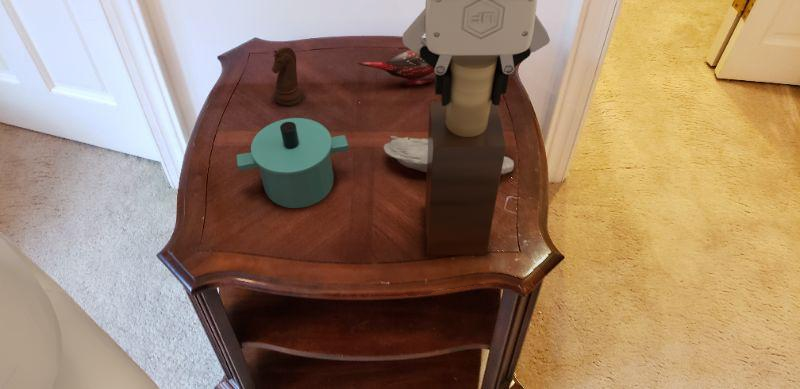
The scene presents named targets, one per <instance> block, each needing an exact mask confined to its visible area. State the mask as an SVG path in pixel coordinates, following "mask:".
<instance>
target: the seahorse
mask: <svg viewBox="0 0 800 389" xmlns="http://www.w3.org/2000/svg"><path fill="white" fill-rule="evenodd" d="M389 137H390V139H391V141H389V142H387V143H385V144H384V145H383V150H384V153H385V154H386V155H387V156H388V157H389V158H393V159H395V160H396V161H397V162H399V163H400V164H401V165H403V166H404V167H406V168H410V169H413V170H417V171H420V172H424V173H426V174H427V155H428V138H424V137H423V138H416V137H415V138H414V137H409V136H405V137H398V136H396V135H390V136H389ZM514 166H515V163H514V160H513V159H512V158H509V157H508V156H506V155H505V156H504V161H503V166H502V172H501V175H503V176H505V175H506V174H508V173H512V172H513V170H514Z"/></svg>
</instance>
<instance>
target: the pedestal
mask: <svg viewBox="0 0 800 389" xmlns="http://www.w3.org/2000/svg"><path fill="white" fill-rule="evenodd" d="M446 107H447V106H442V101H429V110H428V111H429V112H428V132H427V134H428V136H427V140H428V155H427V173H426V182H425V183H426V184H425V202H424V204H425V205H424V216H425V217H424V218H425V234H426V235H425V236H426V252H427V253H426V255H427V256H486V255H487V252H488V246H489V241H490V237H491V236H490V235H491V230H492V225H493V218H494V214H495V209H496V204H497V199H498V198H497V197H498V194H499V189H500V188H499V187H500V182H501V176H502V174H501V172H502V166H503V161H504V156H505V157H506V149H507V144H506V139H505V135H504V134H505V133H504V130H503V125H502V124H503V123H502V120H501V114H500V110H499V105H494V104H492V100H491V105H490V112H489V119H488V126H487V128H486V130H485V131H484V132H483V133H482V134H480V135H477V136H473V137H463V136H459V135H456V134H454V133H452V132H451V131H450V130H449V129H448V128H447V126H446V123H445V121H446Z"/></svg>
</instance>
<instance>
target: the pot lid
mask: <svg viewBox="0 0 800 389" xmlns="http://www.w3.org/2000/svg"><path fill="white" fill-rule="evenodd" d="M331 137H332V136H331V133H330V132H329V130H328V129H327V127H325V126H324V125H323V124H321V123H320V122H318V121H315V120H312V119H309V118H302V117H290V118H284V119H281V120H277V121H274V122H272V123H270V124H268V125H266V126H265V127H263V128H262V129H260V130H259V132H257V134H256V135H255V136H254V137H253V139H252V142H251V145H250V152H251V154H252V157H253V159H254V161H255V162H256V164H257V165H258V166H259V167H261V168H262V169H264V170H266V171H268V172H271V173H275V174H281V175H291V174H298V173H302V172H305V171H308V170H311V169H313V168H315V167H316V166H318V165H319V164H321V163H322V162H323V161H324V160H325V159H326V158H327V156H328V155H329V153H330V151H331V147H332V140H331ZM330 154H331V153H330ZM259 167H258V168H259Z"/></svg>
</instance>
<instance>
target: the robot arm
mask: <svg viewBox="0 0 800 389" xmlns="http://www.w3.org/2000/svg"><path fill="white" fill-rule="evenodd" d="M537 4H538V0H425V8H424V9H423V10H422V11H421V12H420V14H419V15H418V16H417V17H416V18H415V19H414V20H413V21H412V23H411V24H410V25H409V27H408V28H407V29H406V30H405V31H404V32H403V33H402V45H403V46H404V47H406V48H407V49H409V50H412V51H413V52H415V53H417V54H419V55H420V57H421V58H422V59H423V60H424V61H425V62H427V63H428V64H429V65H430V66H431V67H432V68H433V69H434V70H435V72H434V75H435V77H434V95H436V96H437V95H440V99H441V101H440V102H442V106H447V105H449V94H450V81H451V74H450V69H449V64H450V60H451V57H452V56H474V55H497V64H496V71H495V77H494V84H493V91H492V98H491V101H492V104H494V105H498V106H500V105H501V104H500V103H501V96H502V95H506V94H507V90H508V84H509V77H510V74H512V73H513V72H515V68H516V67H517V66H518V65H520V64H521V63H523V62H524V61H525V60H526V59H528V58H529V57H530V56H531V54H532V53H535V52H538V51H539V50H541V49H542V48H543V47H546V46H547V45H548V44H550V41H551V40H550V36H549V33H548V31H547V29H546V28H545V26H544V25H543V24H542V21H541V20H540V18H539V17H538V15H537V7H538V5H537ZM424 35H425V39H424V38H423V36H424ZM0 389H161V388H160V387H159V386H158V384H157V383H156V382H155V381H154V380H153V379H152V378H151V376H150V375H148V373H147V372H146V371H145V370H144V369H143V368H142V367H141V366H140V365H139V364H138V363H137V362H136V361H135V360H134V359H133V358H132V357H131V356H130V355H129V354H128V353H127V352H126V350H124V348H123V347H121V345H119V344H118V343H117V341H116V340H115V339H114V338H113V337H112V336H111V335H110V334H109V333H108V332H107V331H106V330H104V328H102V327H101V326H100V325H99V324H98V323H97V321H96V320H94V319H93V318H92V316H90V314H89V313H87V311H86V310H85V309H83V308H82V306H81V305H80V304H79V303H78V302H77V301H76V300H75V299H74V298H73V297H72V296H71V295H70V294H69V293H68V291H66V290H65V289H64V288H63V287H62V286H61V285H60V284H59V283H57V282H56V281H55V279H53V278H52V277H51V276H50V275H49V274H48V273H46V271H44V270H43V269H42V268H41V267H40V266H39V265H38V264H37V263H36V262H34V261H33V259H31V258H30V257H29V256H28V255H27V254H26V253H25V252H23V251H22V249H20V247H18V246H17V245H16V244H15V243H14V242H13V241H12V240H10V239H9V238H8V237H7V236H6V235H5V234H4V233H3V232H2V231H0Z"/></svg>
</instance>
